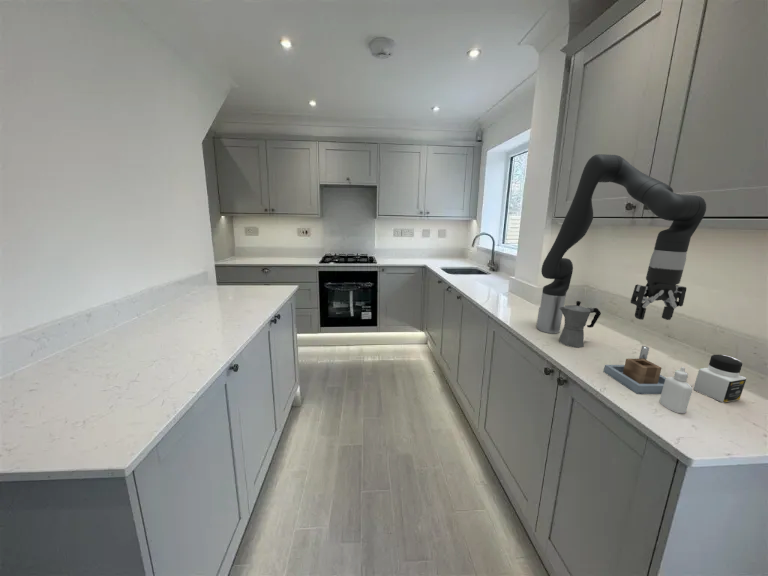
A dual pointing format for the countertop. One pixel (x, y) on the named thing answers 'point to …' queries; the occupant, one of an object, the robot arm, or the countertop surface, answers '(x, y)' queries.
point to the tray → (618, 375)
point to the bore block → (642, 371)
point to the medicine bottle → (721, 379)
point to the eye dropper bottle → (676, 392)
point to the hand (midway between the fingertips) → (652, 318)
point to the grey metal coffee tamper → (644, 352)
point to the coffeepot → (576, 324)
